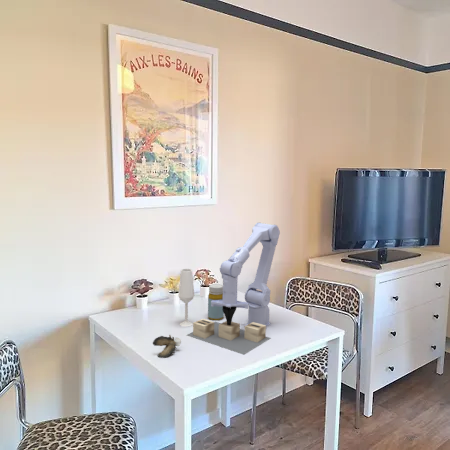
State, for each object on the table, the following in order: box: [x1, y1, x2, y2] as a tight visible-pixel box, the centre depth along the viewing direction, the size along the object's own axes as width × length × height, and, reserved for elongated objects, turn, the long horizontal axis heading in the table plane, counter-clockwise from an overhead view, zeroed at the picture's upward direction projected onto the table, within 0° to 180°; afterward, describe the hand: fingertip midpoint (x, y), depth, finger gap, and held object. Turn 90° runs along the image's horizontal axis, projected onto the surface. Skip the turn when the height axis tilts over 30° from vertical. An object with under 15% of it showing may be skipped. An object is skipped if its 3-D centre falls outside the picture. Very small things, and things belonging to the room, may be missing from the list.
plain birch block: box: [219, 320, 241, 340], centre depth 166 cm, size 6×6×5 cm
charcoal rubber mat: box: [186, 321, 272, 355], centre depth 166 cm, size 19×28×1 cm
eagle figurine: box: [152, 334, 182, 359], centre depth 152 cm, size 8×7×9 cm
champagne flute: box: [178, 268, 195, 328], centre depth 178 cm, size 7×7×24 cm
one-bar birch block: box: [244, 322, 267, 342], centre depth 165 cm, size 6×6×5 cm
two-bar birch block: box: [192, 318, 215, 339], centre depth 168 cm, size 6×6×5 cm
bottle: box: [207, 283, 225, 321], centre depth 186 cm, size 7×7×15 cm
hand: (229, 324), depth 166 cm, fingers closed, pressing on plain birch block
